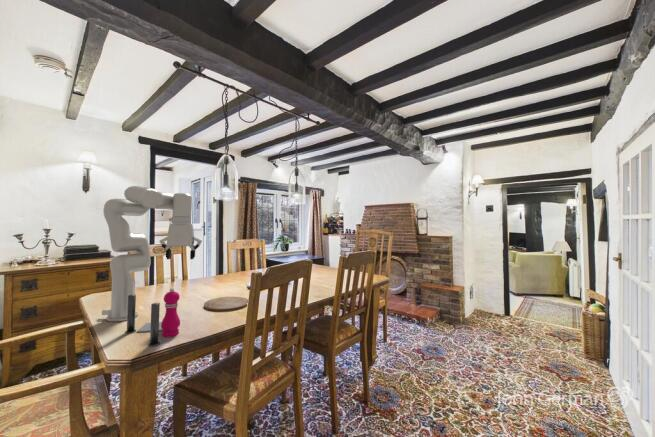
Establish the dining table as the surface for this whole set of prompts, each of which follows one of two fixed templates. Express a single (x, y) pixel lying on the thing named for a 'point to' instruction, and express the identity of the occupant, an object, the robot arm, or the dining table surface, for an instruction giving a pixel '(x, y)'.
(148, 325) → the slate coaster
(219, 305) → the trivet
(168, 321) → the pepper mill
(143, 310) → the dining table surface
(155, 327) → the gate course
